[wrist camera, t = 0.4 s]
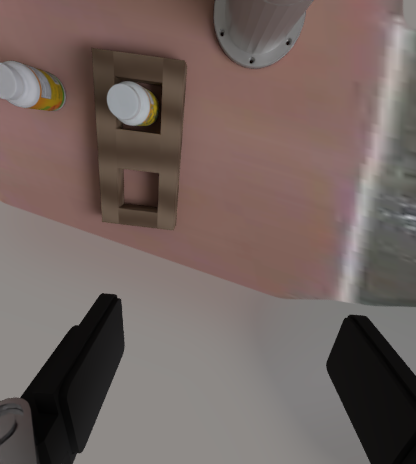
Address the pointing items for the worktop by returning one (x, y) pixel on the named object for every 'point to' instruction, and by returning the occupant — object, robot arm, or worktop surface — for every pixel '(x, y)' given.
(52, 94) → the supplement bottle
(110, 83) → the bottle rack
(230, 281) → the worktop surface
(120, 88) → the supplement bottle
